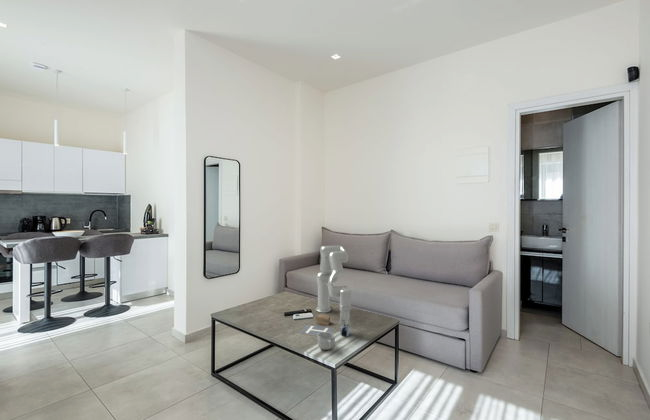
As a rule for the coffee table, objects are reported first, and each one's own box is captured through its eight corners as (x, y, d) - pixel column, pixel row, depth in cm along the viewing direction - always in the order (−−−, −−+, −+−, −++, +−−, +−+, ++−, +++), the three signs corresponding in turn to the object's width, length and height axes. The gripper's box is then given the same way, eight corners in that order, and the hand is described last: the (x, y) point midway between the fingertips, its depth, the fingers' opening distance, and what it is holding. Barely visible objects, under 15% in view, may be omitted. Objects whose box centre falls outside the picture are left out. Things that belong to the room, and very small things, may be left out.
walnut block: (318, 321, 233) (318, 314, 232) (330, 322, 230) (330, 316, 230) (316, 323, 228) (316, 317, 228) (328, 325, 225) (328, 318, 225)
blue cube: (342, 332, 213) (342, 325, 213) (349, 333, 211) (349, 326, 211) (340, 335, 208) (340, 328, 208) (347, 336, 206) (347, 329, 206)
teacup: (317, 343, 196) (317, 331, 196) (334, 343, 197) (334, 330, 197) (318, 354, 182) (318, 341, 182) (336, 354, 183) (336, 340, 183)
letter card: (306, 324, 225) (306, 324, 225) (334, 328, 219) (334, 328, 219) (299, 332, 212) (299, 332, 212) (328, 336, 206) (328, 336, 206)
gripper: (342, 303, 218) (342, 328, 219) (336, 311, 202) (336, 338, 203) (353, 304, 216) (353, 329, 217) (347, 312, 200) (347, 340, 200)
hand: (345, 333), depth 210 cm, fingers closed on blue cube, 5 cm apart
